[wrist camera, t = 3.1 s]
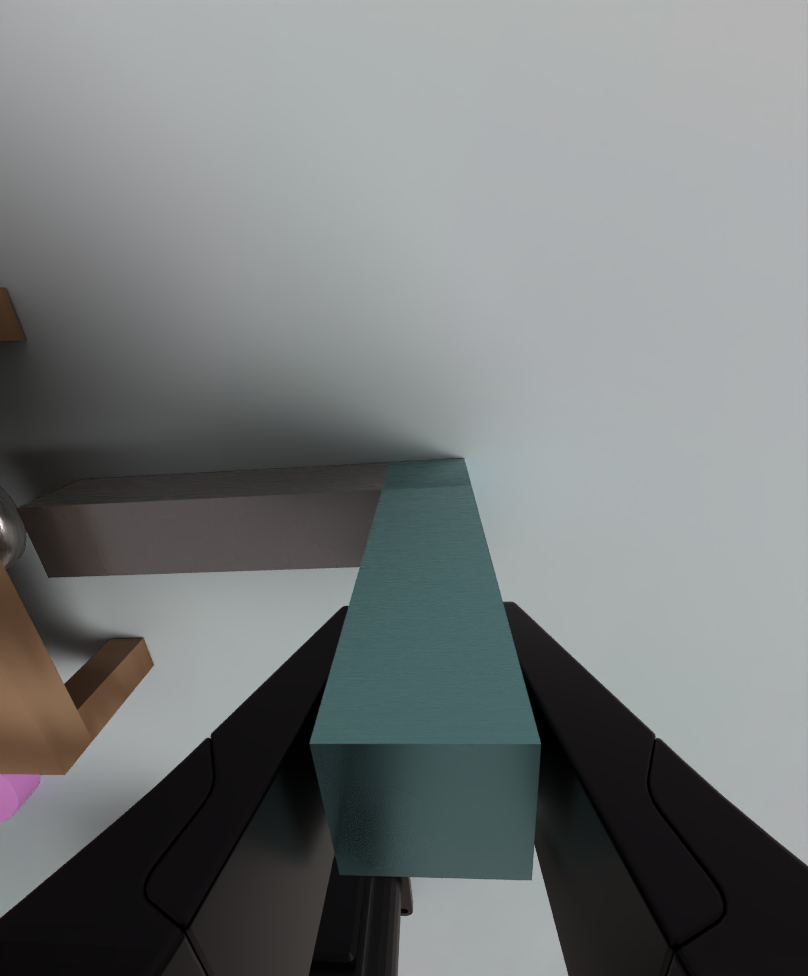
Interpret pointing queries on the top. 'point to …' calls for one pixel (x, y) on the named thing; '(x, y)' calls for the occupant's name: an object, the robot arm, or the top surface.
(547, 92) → the top surface
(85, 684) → the stand
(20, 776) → the bracket
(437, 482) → the teal angled piece
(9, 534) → the disc
